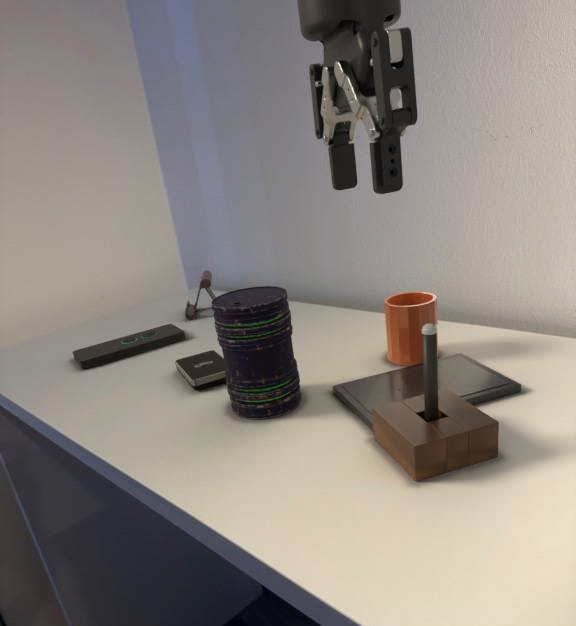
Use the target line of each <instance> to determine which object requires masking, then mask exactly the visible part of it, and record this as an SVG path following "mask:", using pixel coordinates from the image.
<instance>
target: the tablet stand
mask: <svg viewBox="0 0 576 626" xmlns="http://www.w3.org/2000/svg"><path fill="white" fill-rule="evenodd" d="M212 277H213V274H212V272H211V270H203V272H202V274H201V277H200V278H201V279H200V282H199V287H198V292H197V296H196V300H195V302H194V304H191V303H190V300H187V301H186V307H185V309H184V315H185V319H187V320H189V321H192V320H193V319H194V318H195V317H196V311H197V307H198V302H199V298H200V295H201V290H202V289H205V291H206V292H207V294H208V296H209V297H210V298H211V301H212V300H213V299H215V298H216V297H217V296H216V294H215V293H214V292H213V290H212V288H211V286H212Z"/></svg>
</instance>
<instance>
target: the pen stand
mask: <svg viewBox="0 0 576 626" xmlns="http://www.w3.org/2000/svg"><path fill="white" fill-rule="evenodd" d="M438 406H439V420H435V421H432V422H428V423H427V422H426V421H425V404H424V394H423V395H420V396H416V397H412V398H409V399H405V400H401V401H397V402H394V403H390V404H386V405H383V406H379V407H375V408H372V419H373V431H374V432H373V431H372V432H373V440H374V441H375V442H376V443H377V444H378V445H379V446H380V447H381V448H382V450H384V451H385V453H387V455H389V456H390V457H391V458H392V460H393V461H395V462H396V464H398V466H400V467H401V468H402V469H403V470H404V471H405V473H406V474H408V476H410V477H411V478H412V480H413V481H414V482H419V481H423V480H427V479H429V478H432V477H436V476H439V475H442V474H445V473H449V472H452V471H454V470H455V471H456V470H458V469H462V468H465V467H468V466H472V465H474V464H477V463H481V462H483V461H487V460H490V459H493V458H497V457H498V456H499V431H500V422H499V421H498V420H497V419H494V418H493V417H492V416H491V415H489V414H487V413H486V412H484V411H483V410H481V409H480V408H478V407H476V406H475V405H471V404H470V403H468V402H467V401H465V400H464V399H462V398H461V397H459V396H458V395H456V394H454V393H453V392H451V391H450V390H448V389H447V388H445V389H442V390H438Z"/></svg>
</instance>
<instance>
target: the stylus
mask: <svg viewBox="0 0 576 626" xmlns="http://www.w3.org/2000/svg"><path fill="white" fill-rule="evenodd" d="M422 348H423V376H424V404H425V421H426V422H427V423H428V422H432V421H435V420H439V406H438V364H437V359H438V357H437V328H436V326H435V325H433V324H430V323H429V324H426V325H424V326H423V328H422Z"/></svg>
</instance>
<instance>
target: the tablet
mask: <svg viewBox="0 0 576 626" xmlns="http://www.w3.org/2000/svg"><path fill="white" fill-rule="evenodd" d="M437 364H438V390H442V389H445V388H447V389H448V390H450V391H451V392H453V393H454V394H456V395H458V396H459V397H461V398H462V399H464V400H465V401H467V402H468V403H470V404H471V405H473V406H475V405H478V404H481V403H485V402H488V401H492V400H497V399H499V398H502V397H503V398H504V397H506V396H509V395H513V394H517V393H520V392H522V383H519V382H517V381H516V380H514V379H512V378H510V377H508V376H506V375H504V374H502V373H500V372H498V371H496V370H495V369H492V368H490V367H488V366H486V365H485V364H483V363H481V362H479V361H478V360H475V359H473V358H471V357H469V356H467V355H466V354H463V353H461V352H459V353H455V354H452V355H447V356H443V357H440V358H437ZM332 392H333V393H334V394H335V396H337V397H338V398H339V400H341V402H342V403H344V404H345V406H347V407H348V408H349V409H350V410H351V411H352V412H353V413H354V414H355V415H356V416H357V417H358V418H359V419H360V421H362V422H363V423H364V424H365V425H366V426H367V427H368V428H369V429H370V430H371V431H372V432H373V433H374V431H373V419H372V408H375V407H379V406H383V405H386V404H390V403H394V402H397V401H401V400H405V399H409V398H412V397H416V396H420V395H423V394H424V376H423V363H420V364H416V365H412V366H403V367H400V368H397V369H392V370H388V371H385V372H381V373H377V374H373V375H370V376H366V377H361V378H357V379H354V380H350V381H346V382H342V383H338V384H335V385H332Z"/></svg>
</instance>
